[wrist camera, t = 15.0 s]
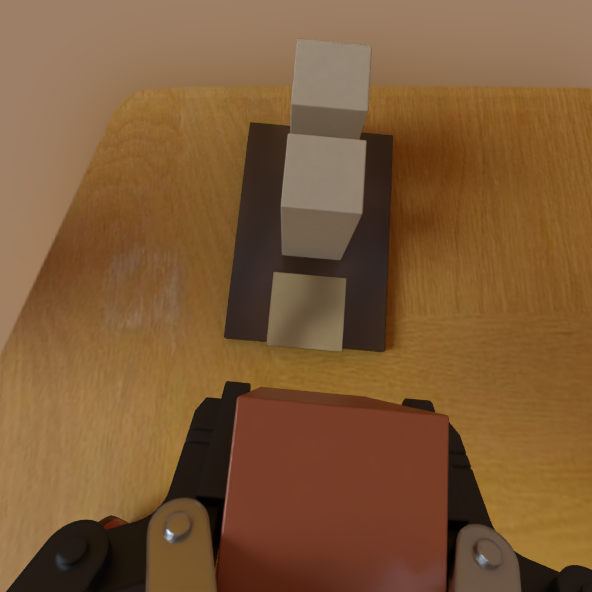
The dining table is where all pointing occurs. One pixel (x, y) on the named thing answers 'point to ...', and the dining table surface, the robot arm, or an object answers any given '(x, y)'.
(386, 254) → the dark brown flat board
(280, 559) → the reddish brown block
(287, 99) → the dining table surface
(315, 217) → the beige rectangular block
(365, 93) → the beige rectangular block
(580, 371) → the dining table surface
